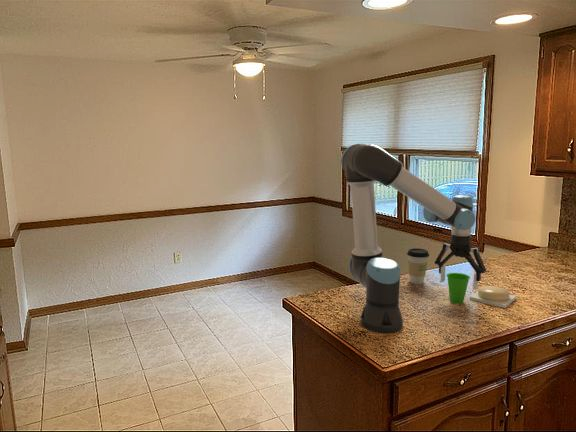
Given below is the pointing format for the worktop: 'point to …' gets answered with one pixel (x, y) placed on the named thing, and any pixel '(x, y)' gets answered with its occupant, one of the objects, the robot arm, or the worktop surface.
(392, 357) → the worktop surface
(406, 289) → the worktop surface
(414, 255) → the coffee cup
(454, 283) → the cup
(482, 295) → the domed square tile
